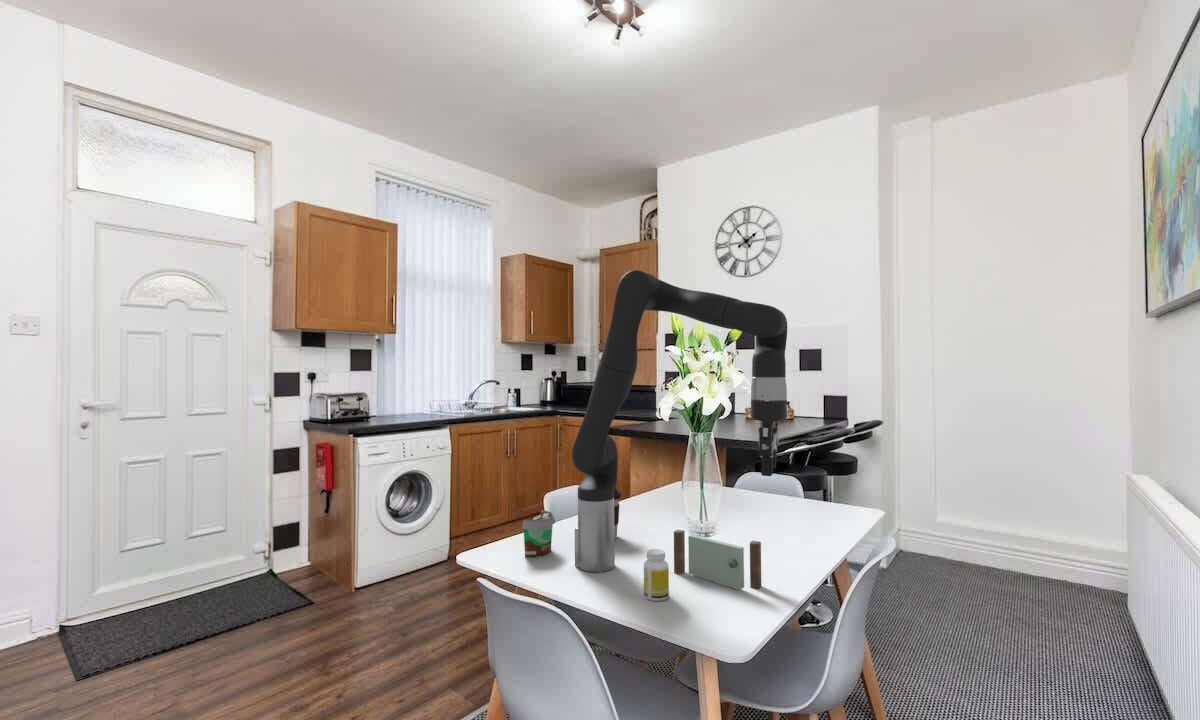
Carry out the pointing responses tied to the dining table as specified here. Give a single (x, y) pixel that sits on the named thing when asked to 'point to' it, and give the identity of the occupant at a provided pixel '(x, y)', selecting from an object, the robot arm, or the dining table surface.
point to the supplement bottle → (656, 576)
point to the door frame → (754, 558)
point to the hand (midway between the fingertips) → (768, 472)
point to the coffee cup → (616, 510)
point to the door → (716, 561)
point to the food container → (538, 534)
